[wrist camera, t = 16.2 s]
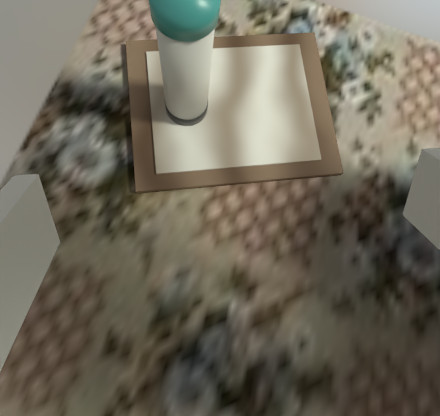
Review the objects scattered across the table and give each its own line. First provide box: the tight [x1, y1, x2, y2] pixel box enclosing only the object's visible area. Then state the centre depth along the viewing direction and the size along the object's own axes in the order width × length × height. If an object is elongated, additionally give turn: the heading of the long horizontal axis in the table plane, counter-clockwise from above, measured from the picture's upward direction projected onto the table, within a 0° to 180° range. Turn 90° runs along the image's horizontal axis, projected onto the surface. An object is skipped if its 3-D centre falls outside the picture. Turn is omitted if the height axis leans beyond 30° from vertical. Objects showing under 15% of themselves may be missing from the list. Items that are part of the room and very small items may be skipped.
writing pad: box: [126, 33, 343, 193], centre depth 35 cm, size 20×16×1 cm
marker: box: [149, 0, 221, 126], centre depth 27 cm, size 4×4×14 cm
